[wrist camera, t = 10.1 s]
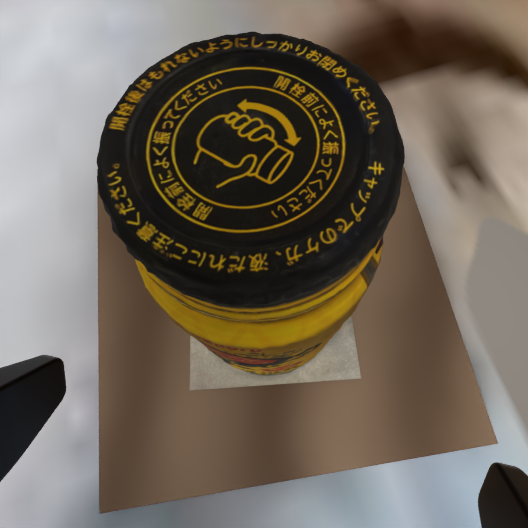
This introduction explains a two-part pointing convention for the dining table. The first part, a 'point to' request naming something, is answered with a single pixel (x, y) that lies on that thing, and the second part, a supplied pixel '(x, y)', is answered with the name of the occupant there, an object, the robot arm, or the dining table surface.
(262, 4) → the dining table surface
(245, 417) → the walnut board
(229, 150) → the condiment
